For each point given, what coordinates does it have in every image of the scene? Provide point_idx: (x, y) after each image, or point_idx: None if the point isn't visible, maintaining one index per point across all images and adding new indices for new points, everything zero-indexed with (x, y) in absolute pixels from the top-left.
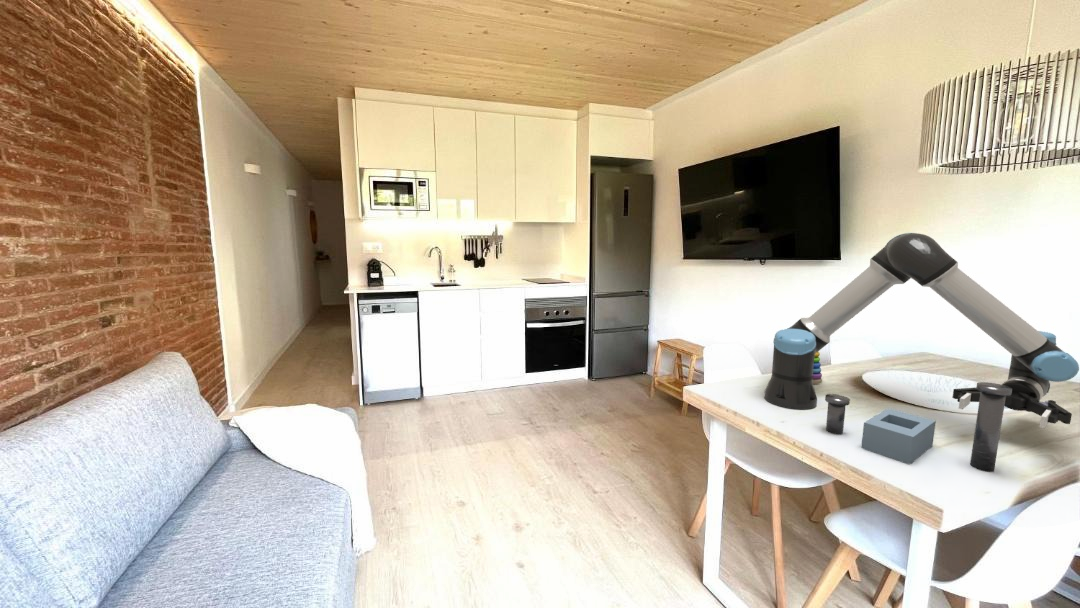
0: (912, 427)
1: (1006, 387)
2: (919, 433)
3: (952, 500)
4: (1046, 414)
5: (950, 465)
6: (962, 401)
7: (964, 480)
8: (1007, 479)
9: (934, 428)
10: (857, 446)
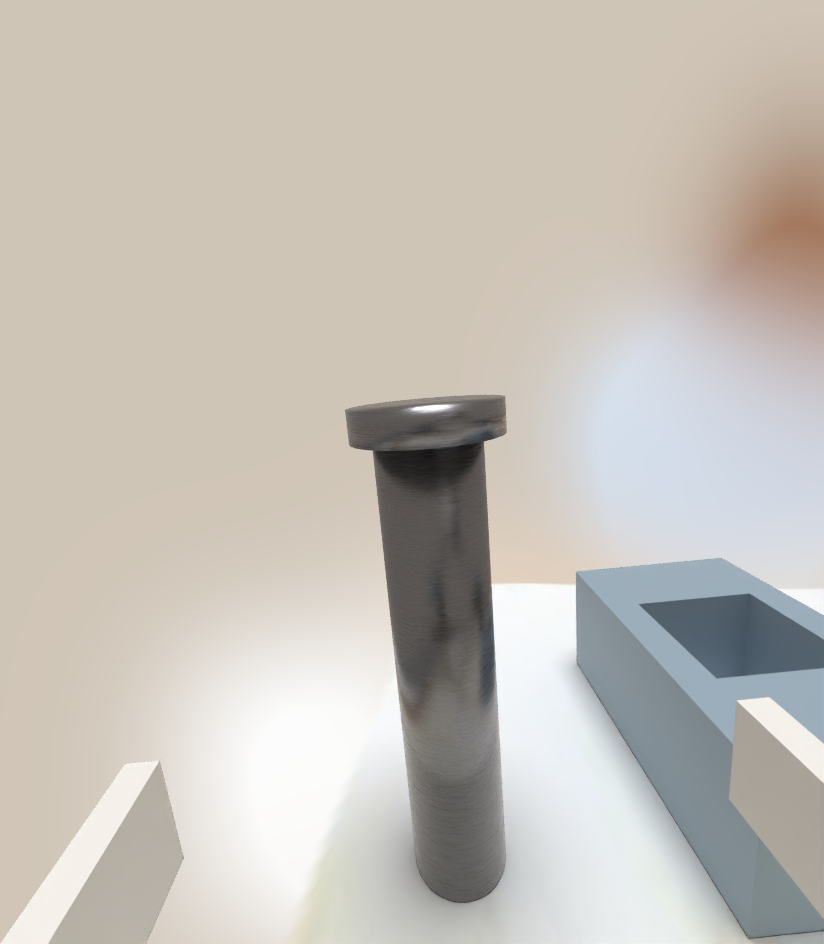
0: None
1: (373, 409)
2: (604, 607)
3: None
4: (60, 876)
5: (528, 755)
6: (741, 723)
7: None
8: (362, 812)
9: None
10: None
